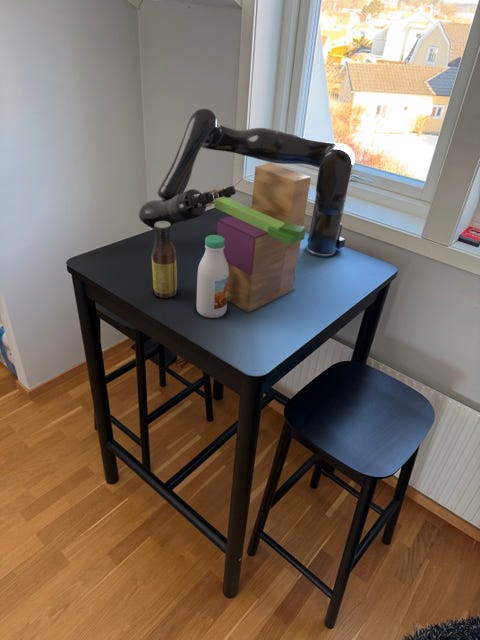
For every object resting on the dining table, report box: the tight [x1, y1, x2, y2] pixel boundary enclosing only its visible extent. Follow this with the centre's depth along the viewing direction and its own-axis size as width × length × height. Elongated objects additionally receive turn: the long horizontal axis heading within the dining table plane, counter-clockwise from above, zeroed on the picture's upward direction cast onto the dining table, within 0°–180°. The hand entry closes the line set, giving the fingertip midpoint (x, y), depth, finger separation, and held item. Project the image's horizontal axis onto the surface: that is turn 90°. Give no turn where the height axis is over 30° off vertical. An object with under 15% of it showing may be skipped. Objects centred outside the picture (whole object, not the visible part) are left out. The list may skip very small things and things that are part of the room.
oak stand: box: [227, 162, 312, 313], centre depth 120 cm, size 13×18×32 cm
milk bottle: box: [196, 234, 229, 319], centre depth 114 cm, size 8×8×20 cm
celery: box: [213, 196, 306, 245], centre depth 114 cm, size 27×6×3 cm, turn 45°
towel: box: [216, 215, 268, 275], centre depth 118 cm, size 12×12×10 cm
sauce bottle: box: [151, 221, 178, 299], centre depth 119 cm, size 6×6×20 cm
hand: (222, 192), depth 119 cm, fingers open, 8 cm apart
